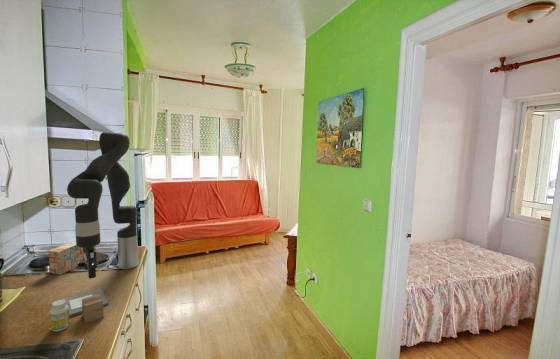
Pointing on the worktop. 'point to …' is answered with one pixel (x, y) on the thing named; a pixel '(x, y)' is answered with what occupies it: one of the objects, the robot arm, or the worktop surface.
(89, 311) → the tan wooden block
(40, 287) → the worktop surface
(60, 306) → the supplement bottle
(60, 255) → the colorful cardboard box
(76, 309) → the grey flat plate
